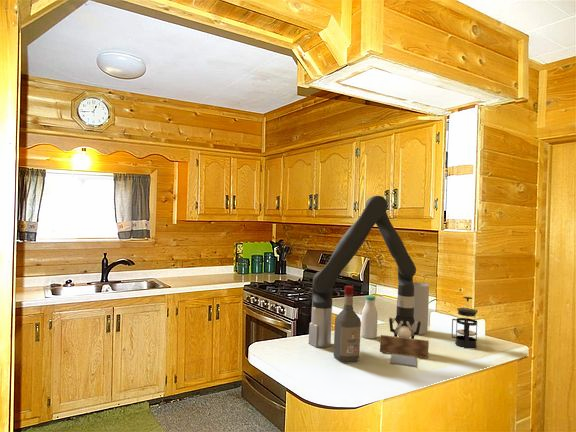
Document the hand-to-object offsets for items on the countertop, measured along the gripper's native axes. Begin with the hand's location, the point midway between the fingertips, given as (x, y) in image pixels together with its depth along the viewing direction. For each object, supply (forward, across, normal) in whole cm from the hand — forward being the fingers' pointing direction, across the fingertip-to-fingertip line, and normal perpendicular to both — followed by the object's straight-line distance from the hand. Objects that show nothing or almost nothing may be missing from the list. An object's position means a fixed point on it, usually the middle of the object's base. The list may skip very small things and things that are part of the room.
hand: (403, 342), depth 181 cm
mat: (+3, 0, -16) cm, 16 cm away
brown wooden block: (+3, 0, -7) cm, 8 cm away
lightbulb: (+3, 0, 0) cm, 3 cm away
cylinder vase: (+3, +5, +32) cm, 33 cm away
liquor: (+3, -23, -23) cm, 32 cm away
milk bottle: (+3, -17, +13) cm, 21 cm away
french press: (+3, +28, +18) cm, 33 cm away
